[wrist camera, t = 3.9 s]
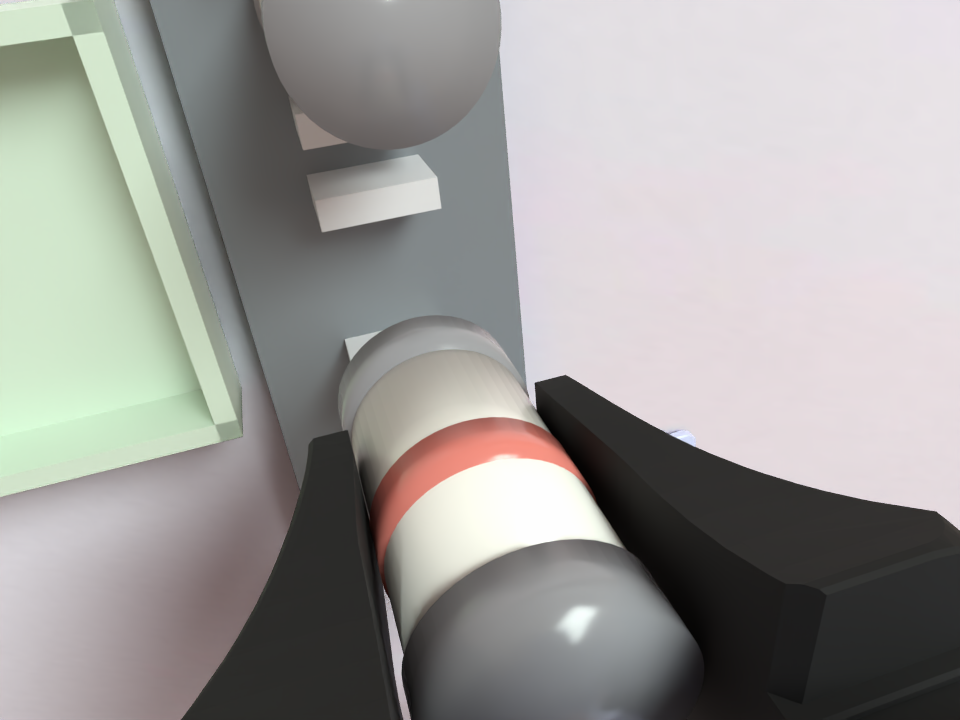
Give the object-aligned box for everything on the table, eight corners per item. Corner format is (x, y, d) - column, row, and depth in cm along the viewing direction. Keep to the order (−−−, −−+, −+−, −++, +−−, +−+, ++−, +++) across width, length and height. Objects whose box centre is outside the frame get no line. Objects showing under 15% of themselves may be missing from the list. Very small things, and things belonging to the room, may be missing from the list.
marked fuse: (516, 441, 16) (696, 755, 10) (356, 485, 16) (443, 852, 9) (503, 297, 14) (714, 576, 8) (319, 339, 14) (399, 678, 8)
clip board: (524, 469, 28) (556, 529, 25) (315, 527, 27) (325, 598, 24) (466, -173, 18) (511, -193, 15) (113, -139, 16) (89, -153, 13)
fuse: (416, 62, 19) (510, 128, 12) (272, 85, 18) (296, 168, 12) (393, -106, 17) (490, -126, 11) (231, -87, 16) (234, -97, 10)
